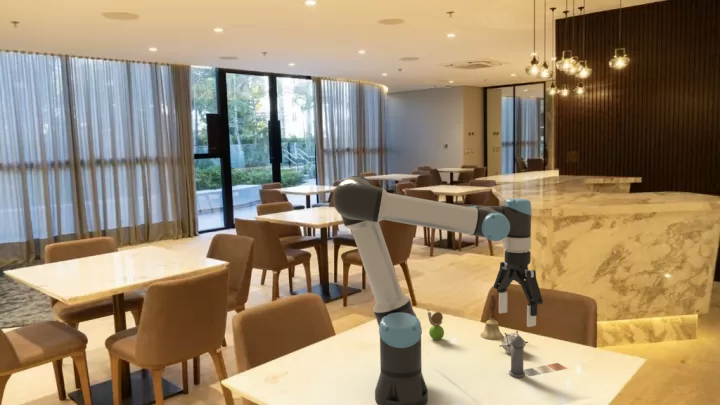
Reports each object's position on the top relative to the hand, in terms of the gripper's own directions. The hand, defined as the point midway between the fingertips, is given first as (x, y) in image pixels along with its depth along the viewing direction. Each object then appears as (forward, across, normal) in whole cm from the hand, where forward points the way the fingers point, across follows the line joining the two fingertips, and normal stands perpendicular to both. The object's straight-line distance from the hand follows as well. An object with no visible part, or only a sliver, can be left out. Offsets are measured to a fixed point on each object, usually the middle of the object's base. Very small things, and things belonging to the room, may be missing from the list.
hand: (516, 319), depth 164 cm
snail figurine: (+19, +38, +6) cm, 43 cm away
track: (+18, -1, -8) cm, 20 cm away
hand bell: (+19, +33, -14) cm, 41 cm away
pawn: (+17, -1, 0) cm, 17 cm away
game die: (+19, +14, -10) cm, 26 cm away
